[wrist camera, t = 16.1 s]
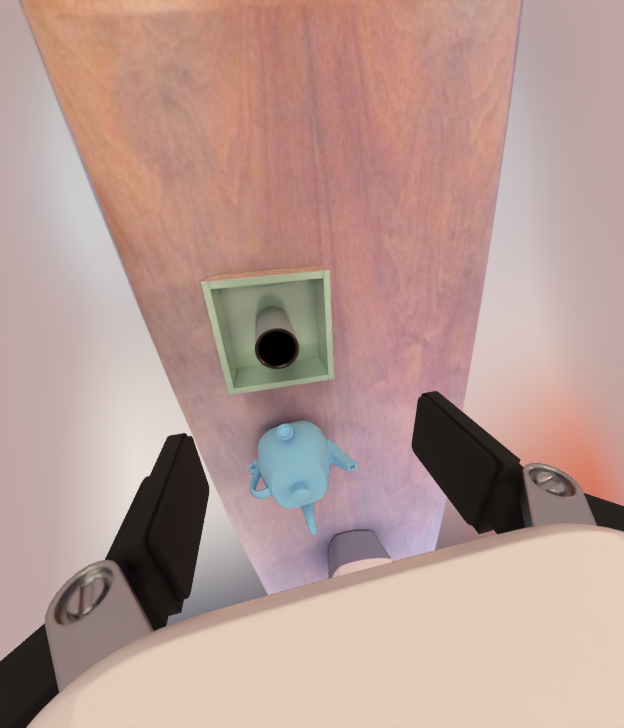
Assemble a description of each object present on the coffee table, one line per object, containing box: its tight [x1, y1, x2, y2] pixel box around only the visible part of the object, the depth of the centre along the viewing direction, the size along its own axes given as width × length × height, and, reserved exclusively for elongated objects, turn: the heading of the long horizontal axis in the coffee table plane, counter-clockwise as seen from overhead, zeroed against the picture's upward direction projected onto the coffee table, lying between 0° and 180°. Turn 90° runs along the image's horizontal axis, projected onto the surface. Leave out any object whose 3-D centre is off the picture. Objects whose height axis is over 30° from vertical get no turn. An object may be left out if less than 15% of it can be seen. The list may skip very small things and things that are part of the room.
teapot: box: [249, 420, 357, 535], centre depth 41 cm, size 15×14×11 cm
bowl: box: [328, 530, 393, 579], centre depth 57 cm, size 15×15×11 cm
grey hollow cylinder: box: [255, 306, 299, 369], centre depth 31 cm, size 4×4×10 cm
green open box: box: [201, 266, 334, 395], centre depth 33 cm, size 14×14×7 cm
